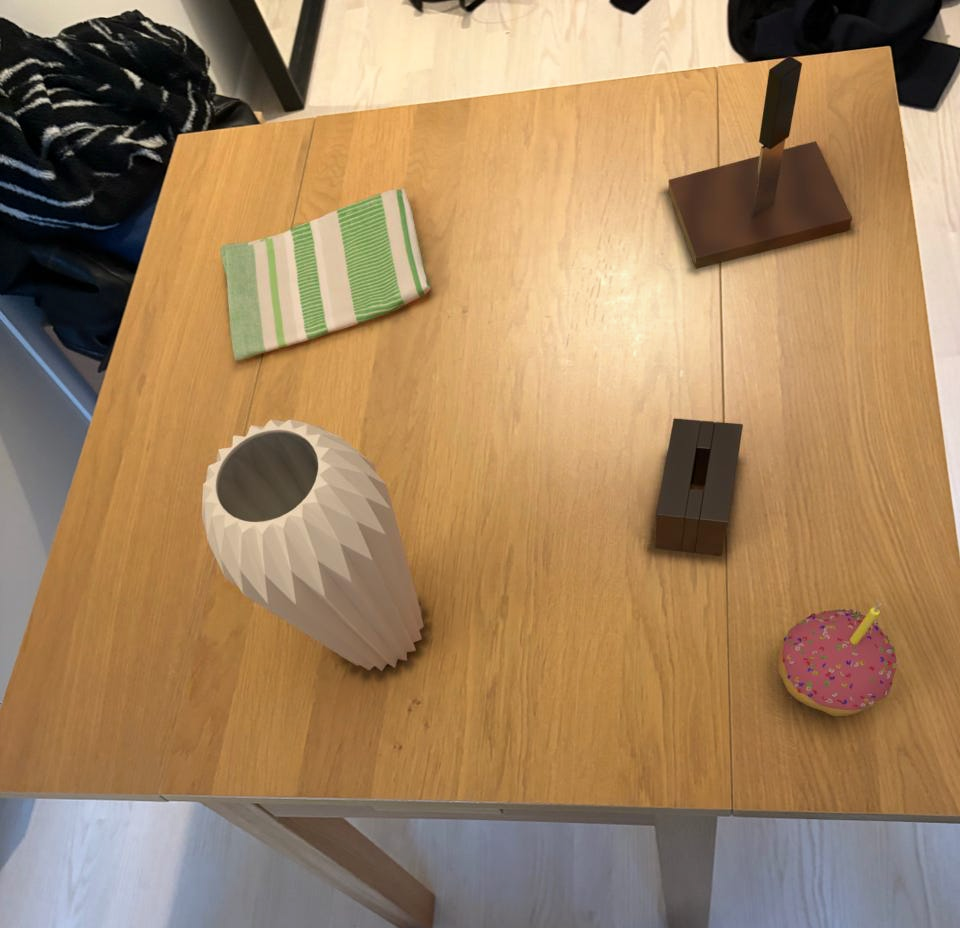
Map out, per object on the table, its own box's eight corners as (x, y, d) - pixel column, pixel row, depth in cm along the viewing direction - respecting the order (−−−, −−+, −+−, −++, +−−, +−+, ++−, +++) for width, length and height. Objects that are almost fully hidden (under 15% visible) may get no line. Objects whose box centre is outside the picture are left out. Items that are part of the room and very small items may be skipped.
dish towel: (226, 256, 100) (216, 238, 98) (409, 199, 98) (403, 179, 96) (239, 366, 93) (228, 349, 91) (436, 306, 91) (430, 287, 89)
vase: (427, 712, 73) (324, 582, 49) (295, 682, 77) (139, 547, 53) (468, 580, 78) (391, 402, 54) (341, 557, 81) (216, 381, 57)
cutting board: (813, 153, 90) (816, 140, 89) (849, 230, 85) (852, 218, 84) (668, 191, 92) (668, 179, 90) (695, 268, 87) (696, 257, 85)
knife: (778, 206, 86) (805, 61, 72) (756, 221, 86) (779, 79, 72) (767, 198, 87) (792, 53, 73) (746, 214, 86) (766, 71, 73)
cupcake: (815, 614, 70) (848, 547, 59) (903, 676, 67) (955, 618, 56) (750, 684, 69) (771, 629, 58) (836, 751, 66) (875, 706, 55)
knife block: (735, 462, 77) (743, 423, 72) (721, 556, 74) (728, 522, 68) (671, 456, 79) (673, 417, 73) (654, 548, 75) (656, 514, 70)
